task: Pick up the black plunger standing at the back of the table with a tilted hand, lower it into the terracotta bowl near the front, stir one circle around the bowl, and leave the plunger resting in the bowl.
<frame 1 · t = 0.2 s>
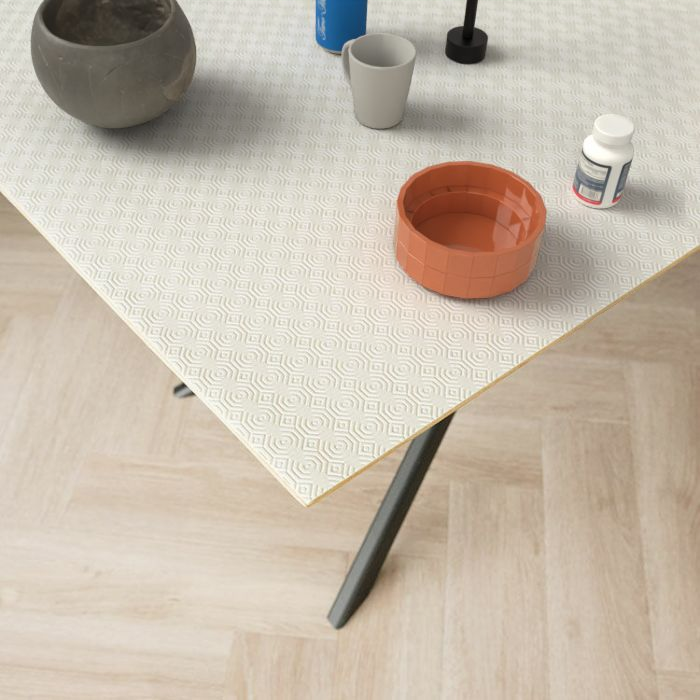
pill bottle: (595, 195, 98), on the table
beverage can: (340, 45, 118), on the table
cup: (371, 113, 108), on the table
black plunger: (465, 53, 117), on the table
bowl: (125, 110, 107), on the table
mixing bowl: (464, 252, 91), on the table
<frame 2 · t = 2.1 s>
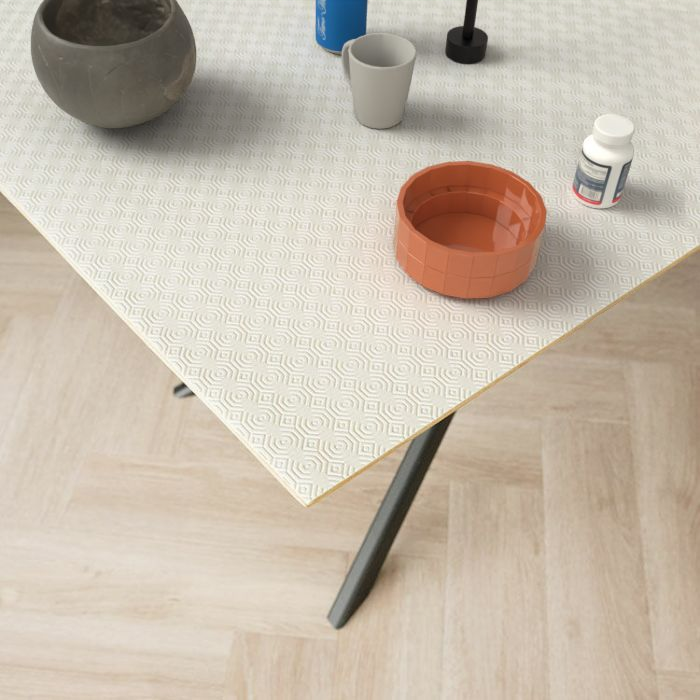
nothing on the table moved.
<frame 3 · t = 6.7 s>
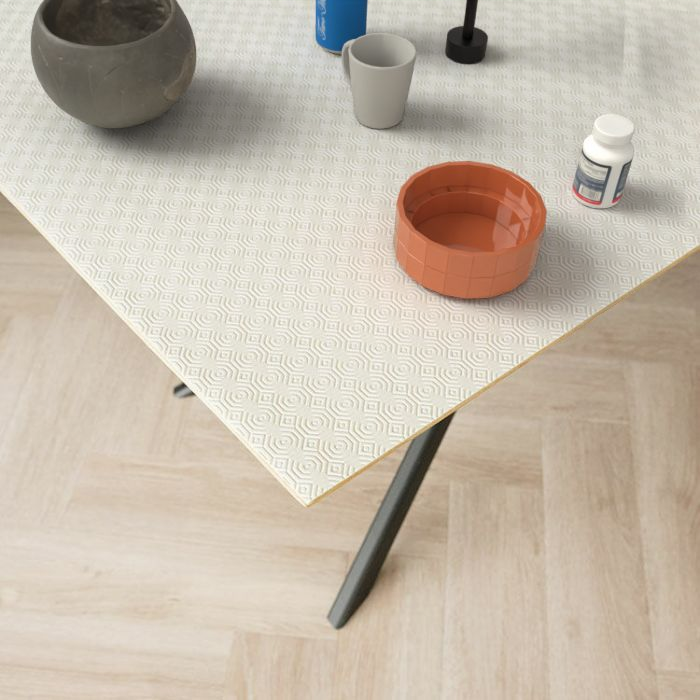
black plunger: (465, 53, 117), on the table, touching gripper
everything else where it was.
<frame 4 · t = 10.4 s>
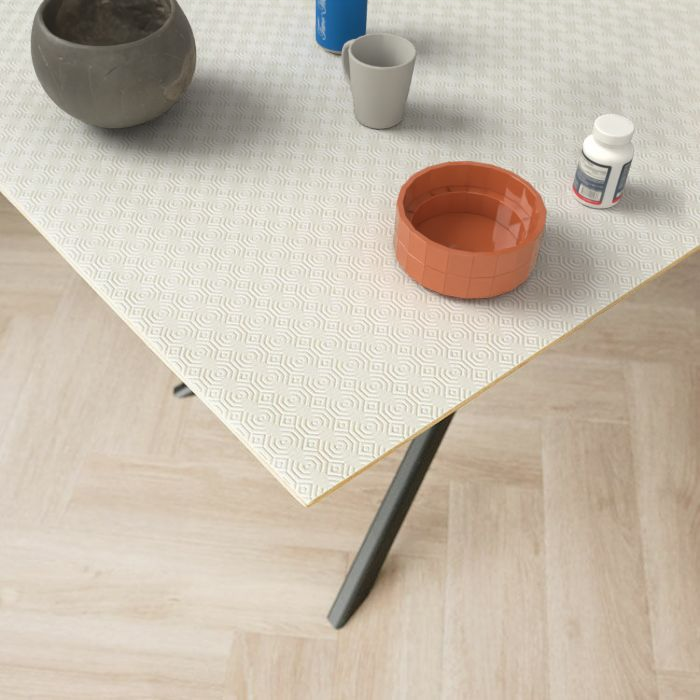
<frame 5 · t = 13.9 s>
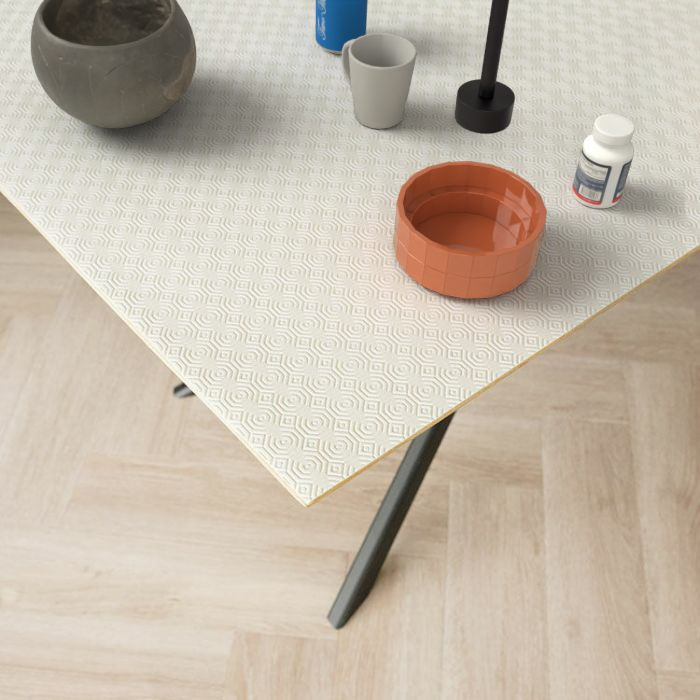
black plunger: (482, 117, 84), point 14 cm above the table, touching gripper
everything else where it was.
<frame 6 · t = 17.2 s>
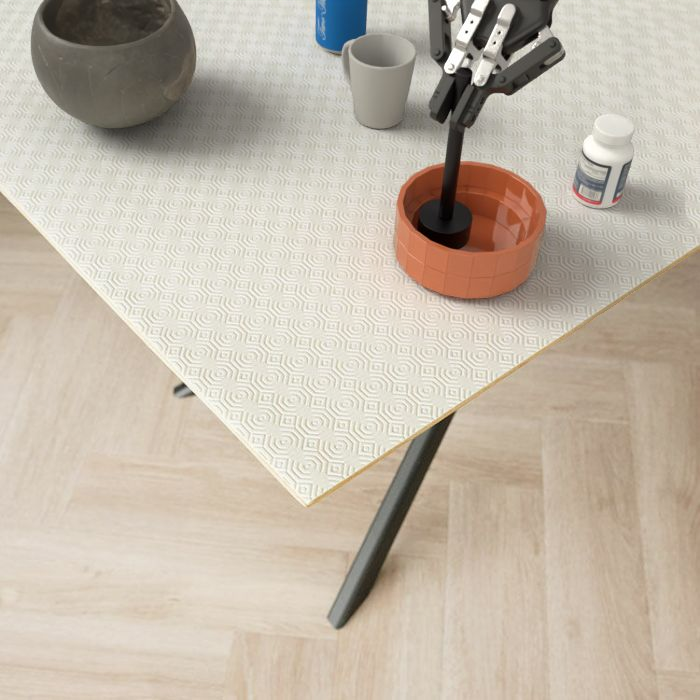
hand: (446, 124, 78), 16 cm above the table, tool tilted 45°, fingers closed on black plunger
black plunger: (443, 234, 90), point 2 cm above the table, touching gripper
everything else where it was.
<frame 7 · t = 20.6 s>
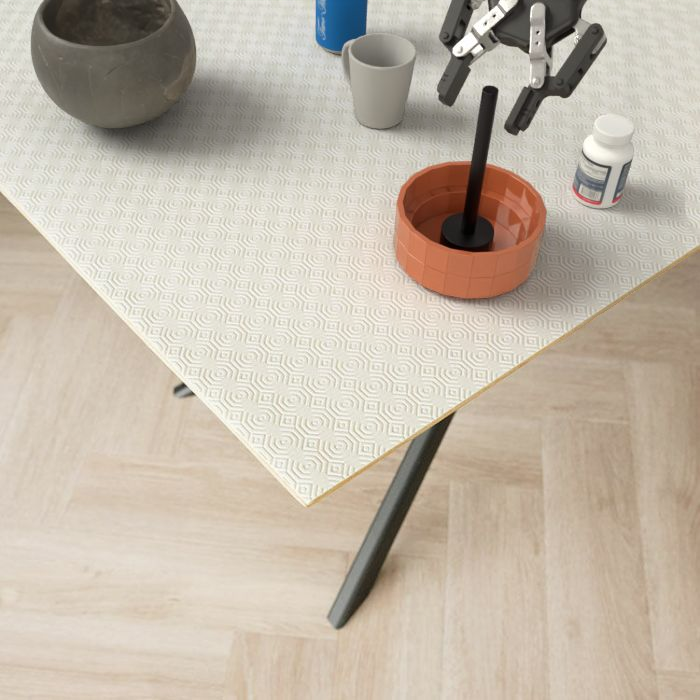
hand: (477, 116, 78), 17 cm above the table, tool tilted 45°, fingers open, 6 cm apart
black plunger: (464, 247, 91), point 1 cm above the table, touching mixing bowl
everything else where it was.
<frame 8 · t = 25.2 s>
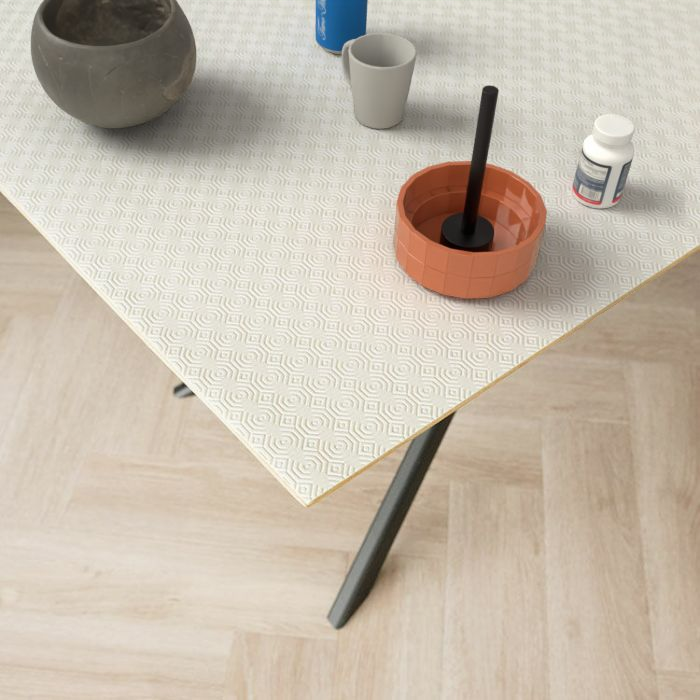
nothing on the table moved.
at the end: black plunger inside the target area in the mixing bowl (0.1 cm from its centre), point 0.6 cm above the mixing bowl's base; the gripper is holding nothing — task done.
